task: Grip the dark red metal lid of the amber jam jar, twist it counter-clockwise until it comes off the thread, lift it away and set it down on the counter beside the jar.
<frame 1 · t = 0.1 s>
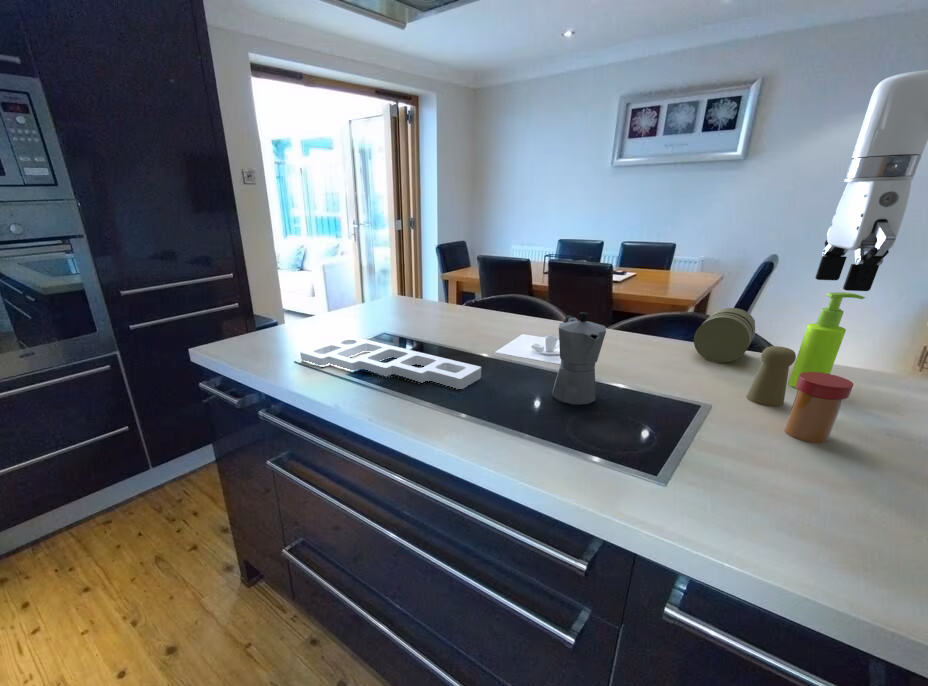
hand: (840, 284, 73), 24 cm above the worktop, tool pointing down, fingers open, 9 cm apart
piston: (719, 356, 113), on the worktop
jam jar: (805, 434, 76), on the worktop
holder: (385, 369, 110), on the worktop
coffeepot: (571, 394, 94), on the worktop
cork: (764, 400, 89), on the worktop
soap dispenser: (808, 387, 94), on the worktop
jam lid: (825, 381, 72), point 10 cm above the worktop, screwed on, not yet turned
teacup and saucer: (542, 348, 122), on the worktop
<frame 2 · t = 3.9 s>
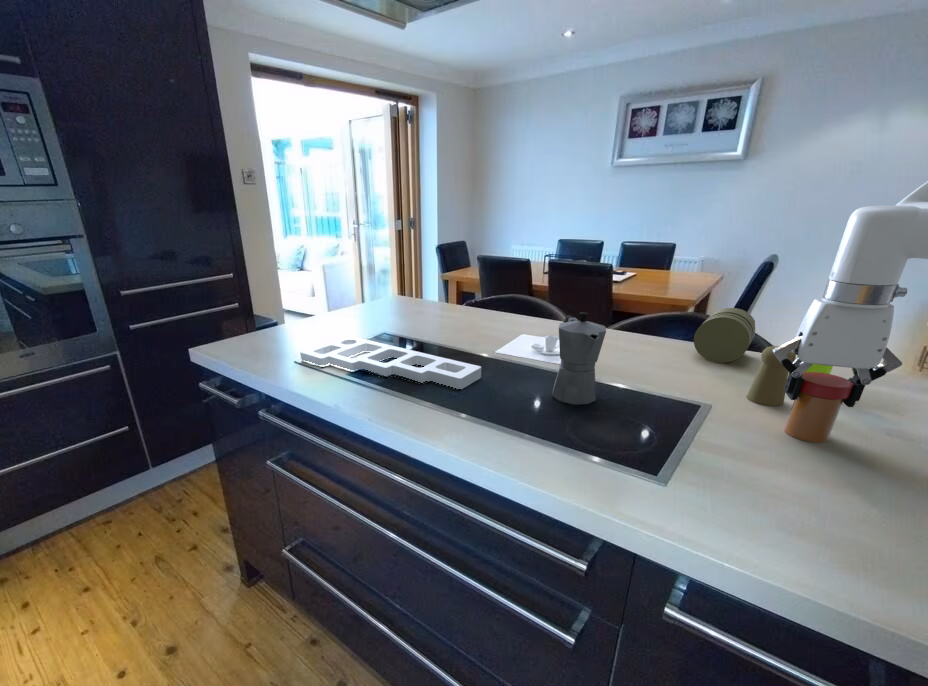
hand: (818, 399, 73), 7 cm above the worktop, tool pointing down, fingers closed on jam lid, 6 cm apart
jam lid: (825, 381, 72), point 10 cm above the worktop, screwed on, not yet turned, touching gripper
everything else where it was.
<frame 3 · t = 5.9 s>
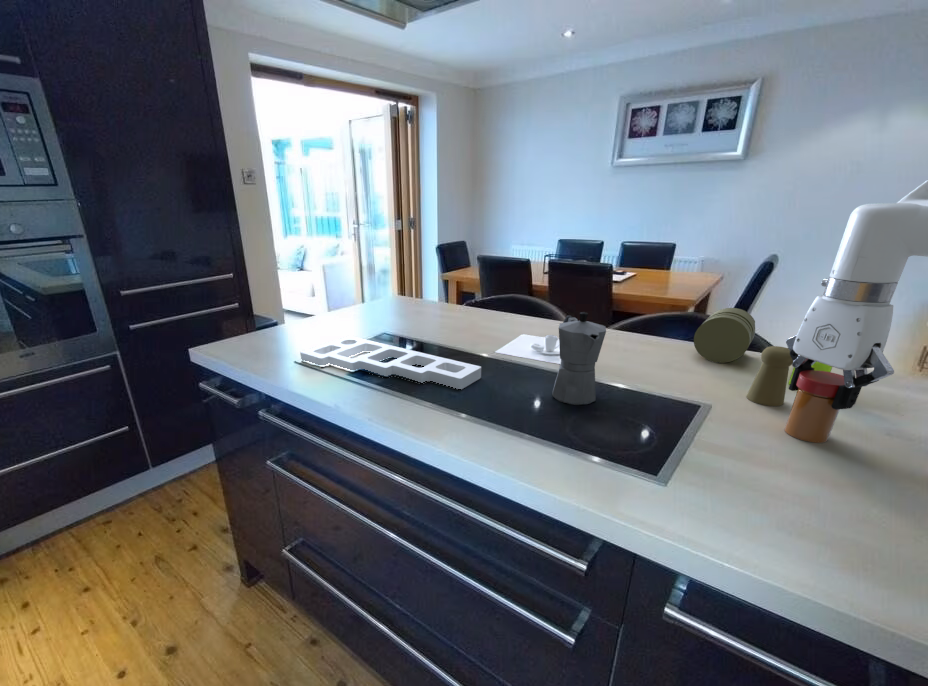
hand: (818, 397, 73), 7 cm above the worktop, tool pointing down, fingers closed on jam lid, 6 cm apart
jam lid: (825, 379, 72), point 10 cm above the worktop, turned 123° so far, risen 0.3 cm, still on its thread, touching gripper
everything else where it was.
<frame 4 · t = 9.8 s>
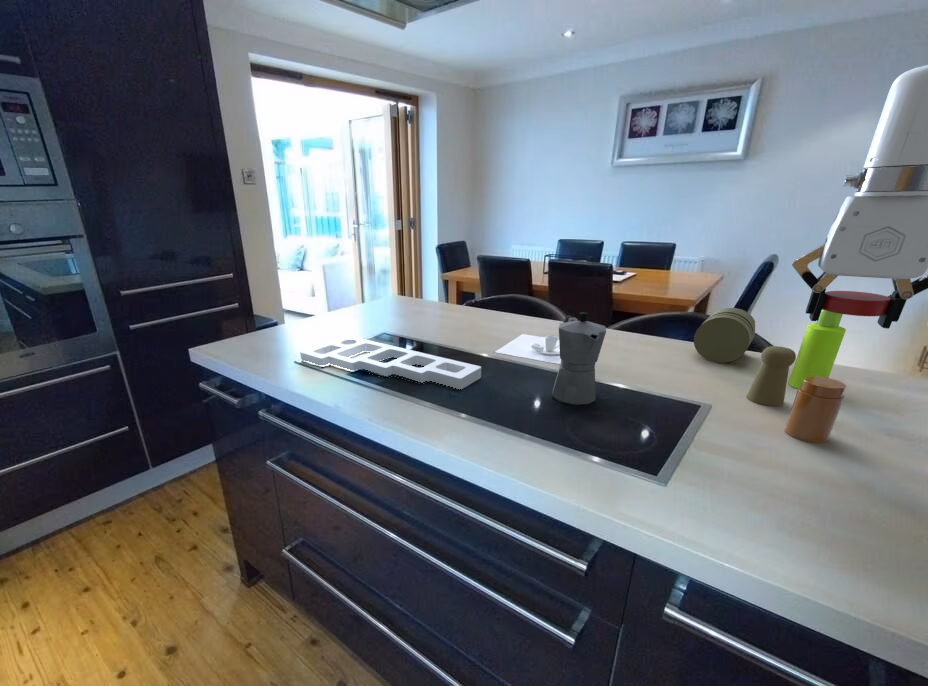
hand: (847, 321, 62), 22 cm above the worktop, tool pointing down, fingers closed on jam lid, 6 cm apart
jam lid: (855, 298, 61), point 25 cm above the worktop, off its thread, touching gripper
everything else where it was.
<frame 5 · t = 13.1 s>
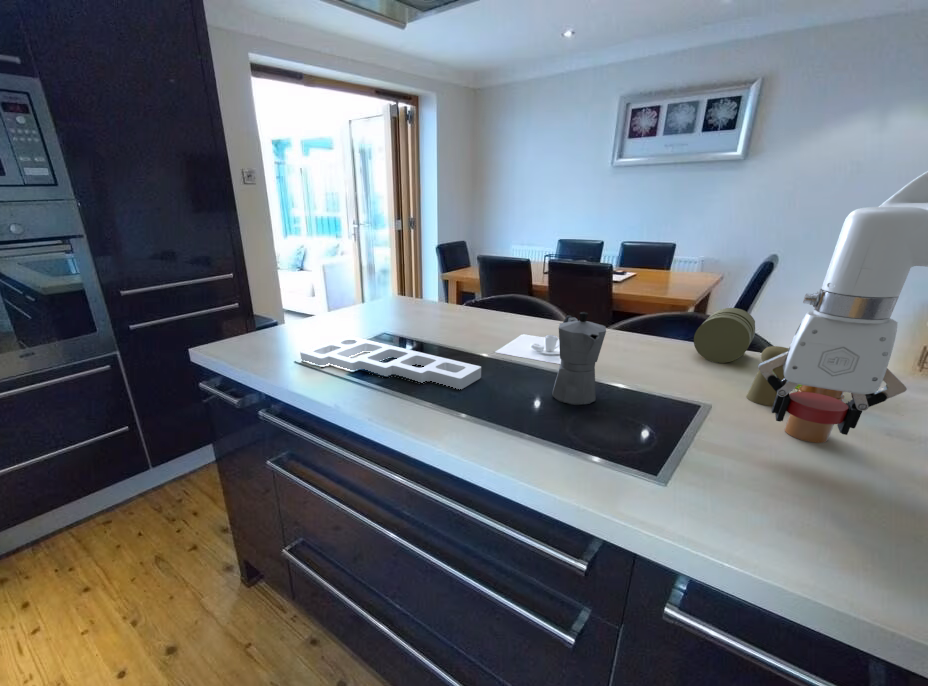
hand: (809, 423, 66), 7 cm above the worktop, tool pointing down, fingers closed on jam lid, 6 cm apart
jam lid: (816, 403, 64), point 10 cm above the worktop, off its thread, touching gripper
everything else where it was.
when the fingers open (0 cm above the worktop, at t = 15.9 s): jam lid drops 2 cm, point 2 cm above the worktop.
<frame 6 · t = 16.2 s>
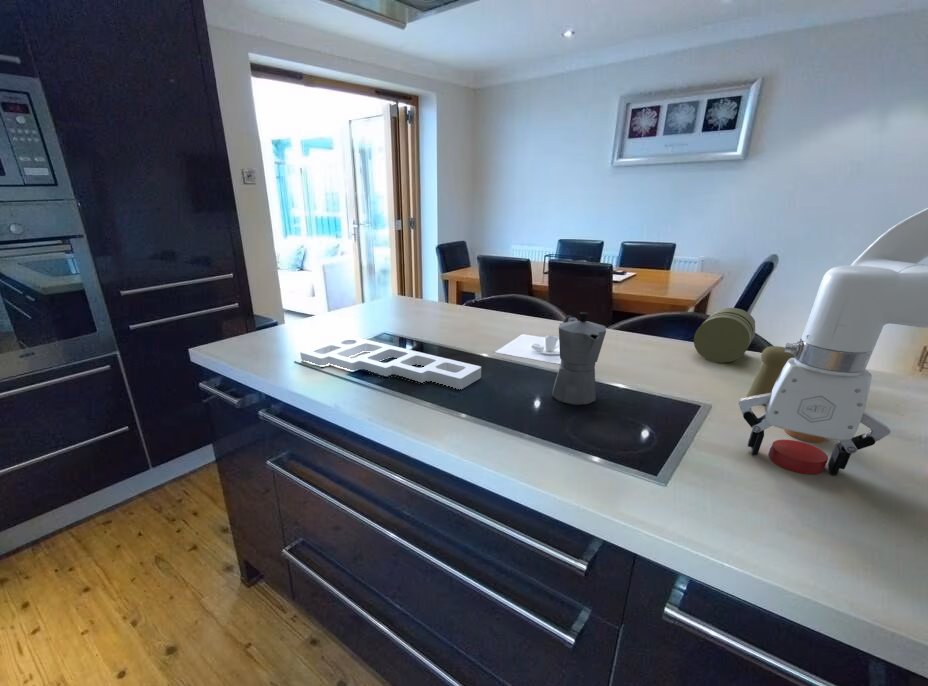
hand: (791, 460, 68), 0 cm above the worktop, tool pointing down, fingers open, 9 cm apart
jam lid: (798, 452, 68), point 2 cm above the worktop, off its thread
everything else where it was.
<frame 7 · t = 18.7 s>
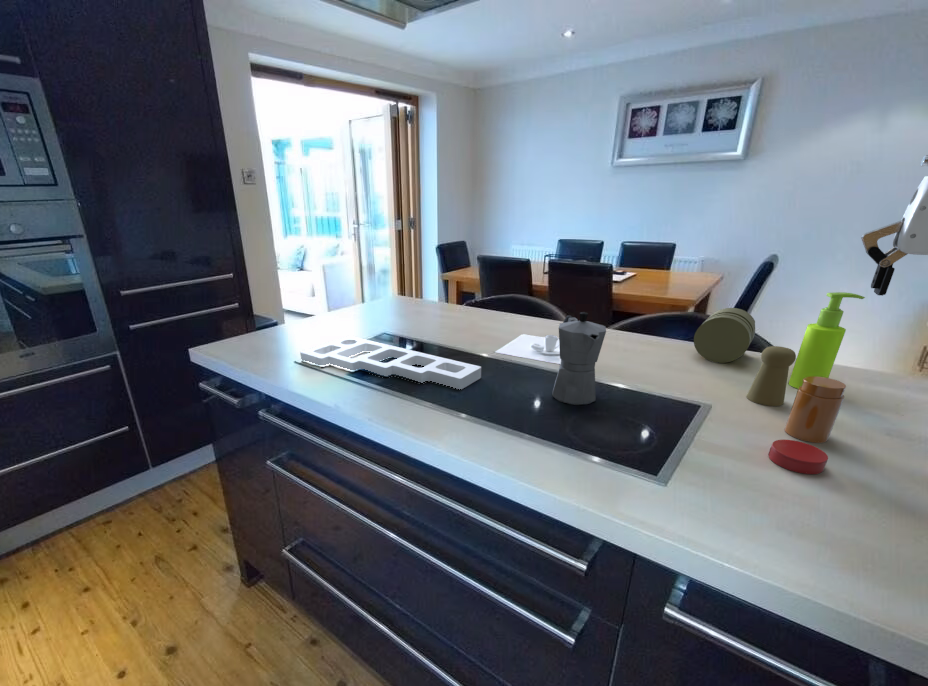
hand: (926, 296, 62), 25 cm above the worktop, tool pointing down, fingers open, 9 cm apart
nothing on the worktop moved.
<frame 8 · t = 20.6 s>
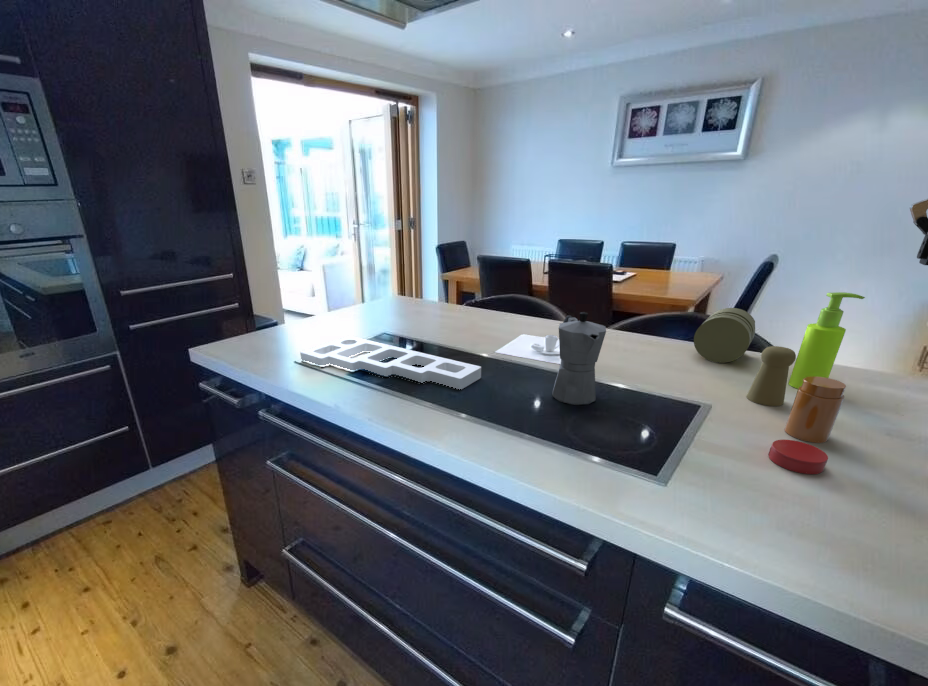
nothing on the worktop moved.
at the end: jam lid came off its thread; jam lid point 1.7 cm above the worktop; the gripper is holding nothing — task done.
